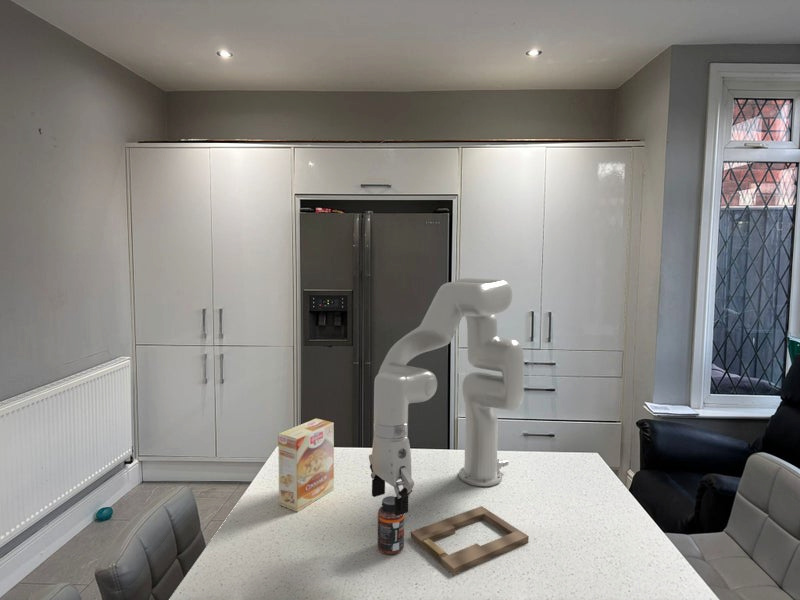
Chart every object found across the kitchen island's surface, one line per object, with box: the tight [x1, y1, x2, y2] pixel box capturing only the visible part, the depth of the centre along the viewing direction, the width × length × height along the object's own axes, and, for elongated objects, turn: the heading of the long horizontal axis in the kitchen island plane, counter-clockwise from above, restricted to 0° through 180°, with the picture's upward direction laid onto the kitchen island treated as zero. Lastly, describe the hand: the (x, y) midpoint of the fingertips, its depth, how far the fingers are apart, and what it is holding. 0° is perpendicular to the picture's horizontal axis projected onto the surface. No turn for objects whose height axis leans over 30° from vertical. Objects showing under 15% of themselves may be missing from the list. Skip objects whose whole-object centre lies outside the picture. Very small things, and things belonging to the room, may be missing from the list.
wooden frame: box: [410, 505, 529, 576], centre depth 114 cm, size 22×16×2 cm
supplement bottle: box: [377, 495, 405, 555], centre depth 111 cm, size 6×6×11 cm
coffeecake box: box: [277, 418, 335, 513], centre depth 133 cm, size 15×7×20 cm, turn 148°
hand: (389, 504), depth 110 cm, fingers open, 9 cm apart
